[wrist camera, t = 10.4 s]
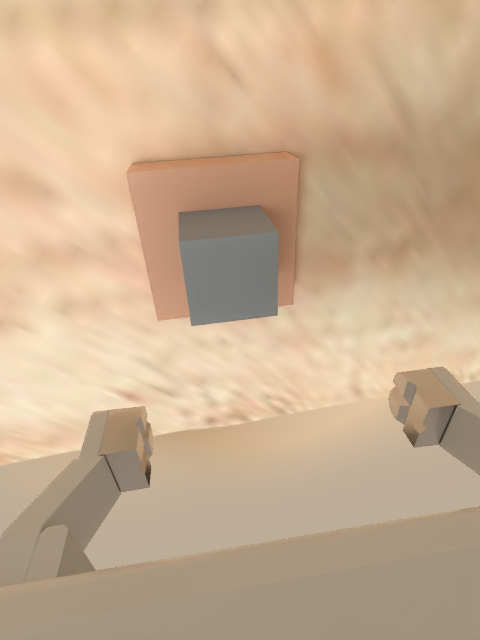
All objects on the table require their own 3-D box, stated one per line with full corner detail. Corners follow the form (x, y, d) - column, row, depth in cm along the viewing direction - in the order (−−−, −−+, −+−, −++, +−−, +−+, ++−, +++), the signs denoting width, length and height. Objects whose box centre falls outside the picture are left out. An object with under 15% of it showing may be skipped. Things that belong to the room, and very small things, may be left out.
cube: (259, 205, 22) (278, 231, 17) (260, 277, 24) (277, 315, 20) (178, 212, 21) (178, 241, 17) (189, 285, 24) (191, 325, 20)
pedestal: (286, 151, 23) (299, 159, 20) (283, 285, 28) (293, 304, 26) (131, 163, 22) (126, 172, 19) (159, 300, 28) (158, 320, 25)
